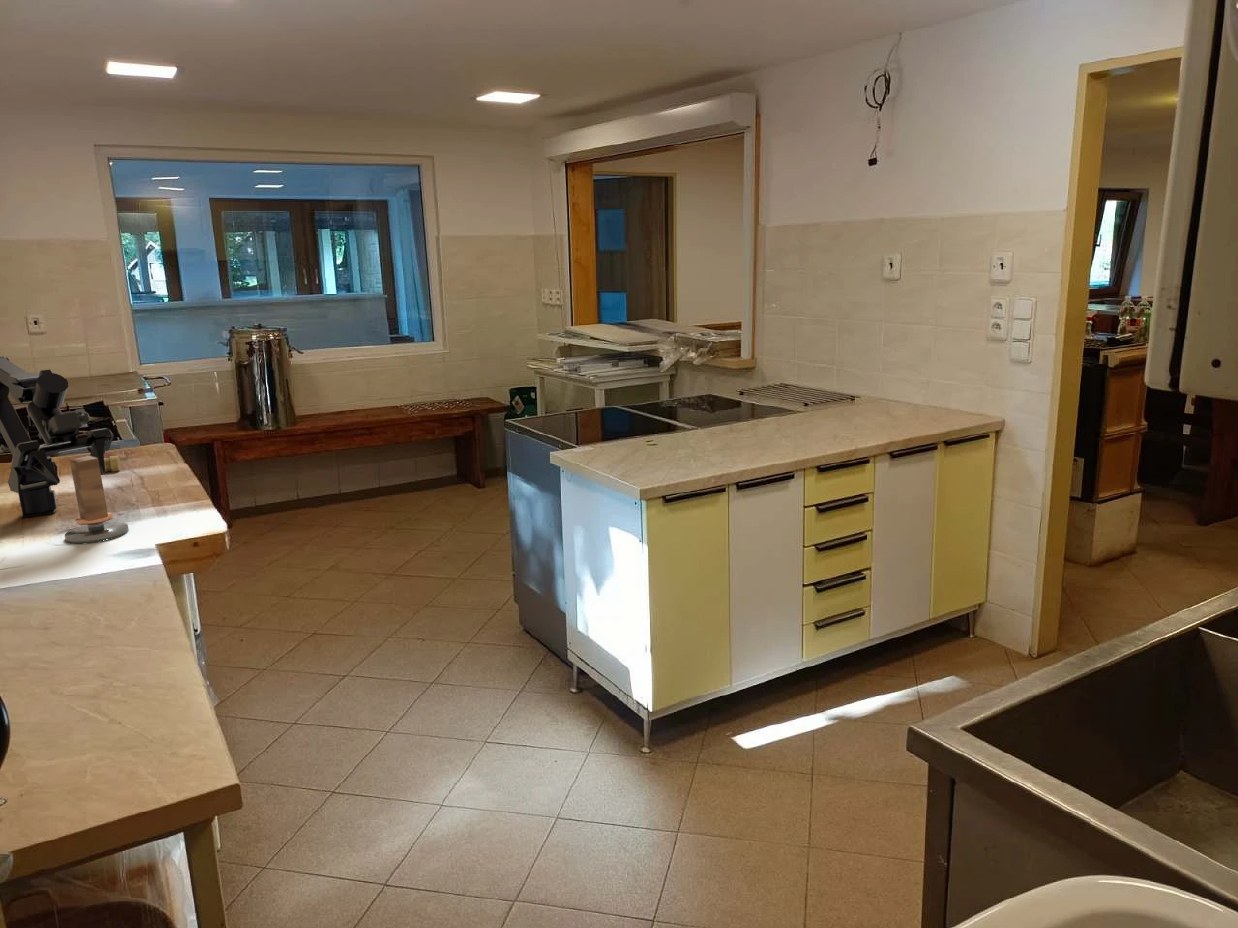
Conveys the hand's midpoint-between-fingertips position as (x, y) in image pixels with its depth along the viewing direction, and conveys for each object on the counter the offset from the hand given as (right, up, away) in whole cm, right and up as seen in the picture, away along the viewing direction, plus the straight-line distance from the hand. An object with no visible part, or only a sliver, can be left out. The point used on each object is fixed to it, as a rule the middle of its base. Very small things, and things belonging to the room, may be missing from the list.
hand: (81, 477), depth 191 cm
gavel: (-32, +2, +64) cm, 72 cm away
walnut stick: (+2, -9, +1) cm, 9 cm away
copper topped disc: (+3, -12, +1) cm, 13 cm away
